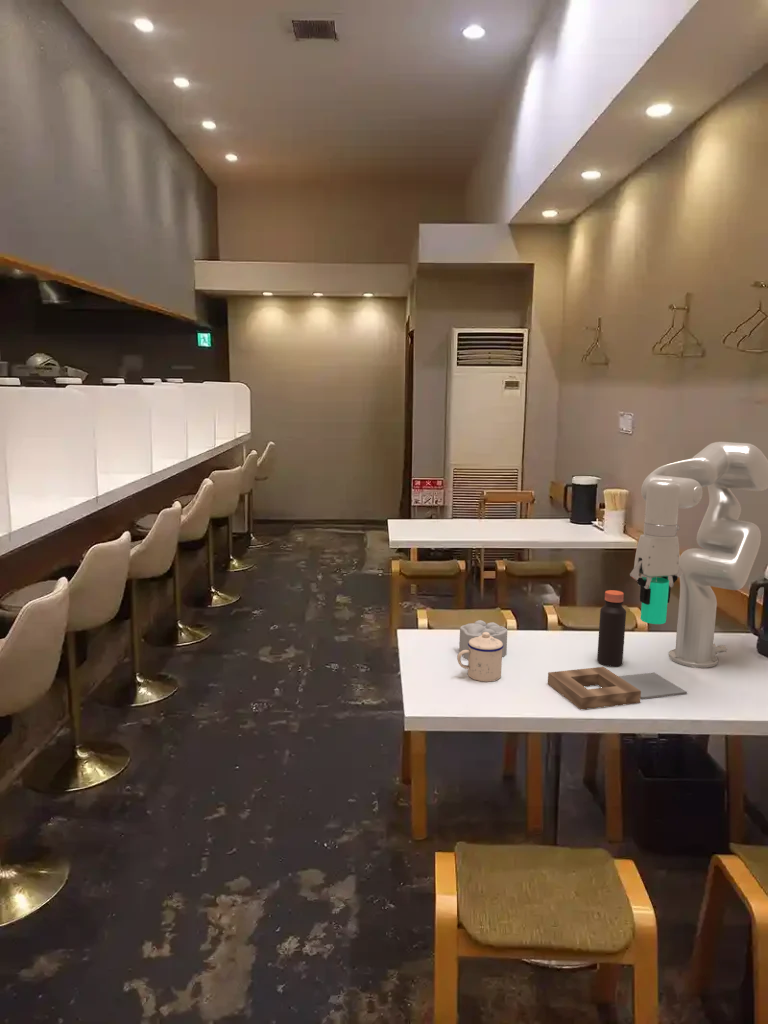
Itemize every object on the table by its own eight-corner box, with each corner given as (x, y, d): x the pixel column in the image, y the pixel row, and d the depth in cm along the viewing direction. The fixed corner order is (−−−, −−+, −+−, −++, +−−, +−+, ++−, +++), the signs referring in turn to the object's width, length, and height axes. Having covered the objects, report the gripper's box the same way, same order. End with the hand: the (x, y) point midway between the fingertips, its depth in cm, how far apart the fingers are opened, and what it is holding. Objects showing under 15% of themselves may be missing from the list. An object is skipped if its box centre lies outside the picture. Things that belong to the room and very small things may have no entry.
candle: (665, 618, 184) (669, 572, 182) (666, 625, 178) (670, 577, 176) (640, 615, 186) (643, 569, 184) (640, 622, 180) (644, 575, 178)
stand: (602, 677, 190) (603, 666, 190) (640, 702, 175) (641, 690, 174) (547, 683, 186) (548, 672, 185) (581, 709, 171) (581, 697, 170)
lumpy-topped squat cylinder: (456, 648, 210) (457, 619, 209) (499, 646, 213) (500, 617, 211) (467, 661, 200) (468, 631, 199) (512, 659, 203) (513, 629, 201)
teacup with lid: (494, 668, 196) (496, 626, 194) (507, 681, 187) (509, 637, 185) (452, 670, 193) (453, 628, 191) (462, 684, 184) (463, 640, 183)
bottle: (610, 656, 205) (615, 588, 202) (627, 665, 199) (633, 594, 196) (591, 660, 202) (596, 590, 199) (608, 668, 196) (613, 597, 193)
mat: (653, 674, 193) (654, 672, 193) (686, 694, 180) (687, 691, 180) (610, 679, 189) (611, 677, 189) (641, 699, 177) (641, 697, 177)
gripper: (679, 526, 184) (673, 596, 187) (620, 528, 179) (615, 600, 182) (699, 531, 177) (693, 604, 180) (639, 534, 172) (634, 609, 175)
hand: (654, 601), depth 181 cm, fingers closed on candle, 4 cm apart
